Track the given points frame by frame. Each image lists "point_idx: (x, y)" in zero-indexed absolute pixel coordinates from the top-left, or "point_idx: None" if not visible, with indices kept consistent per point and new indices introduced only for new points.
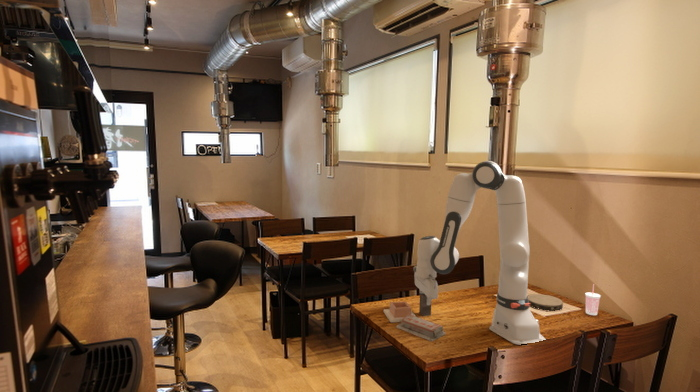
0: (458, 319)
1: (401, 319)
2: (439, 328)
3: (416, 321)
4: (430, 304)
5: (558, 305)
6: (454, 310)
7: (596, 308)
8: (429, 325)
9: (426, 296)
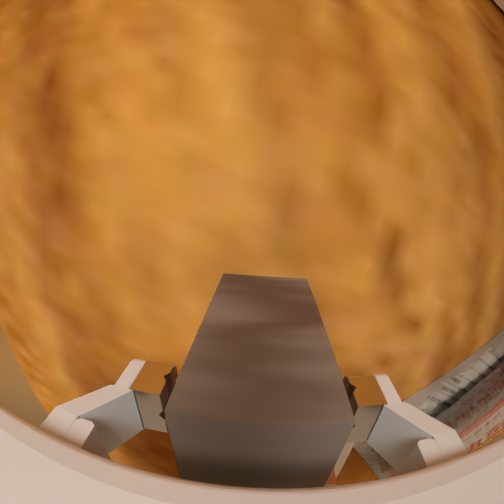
0: (426, 88)
1: (340, 469)
2: None
3: (470, 449)
4: (385, 376)
5: None
6: (232, 15)
7: None
8: None
9: (330, 472)
